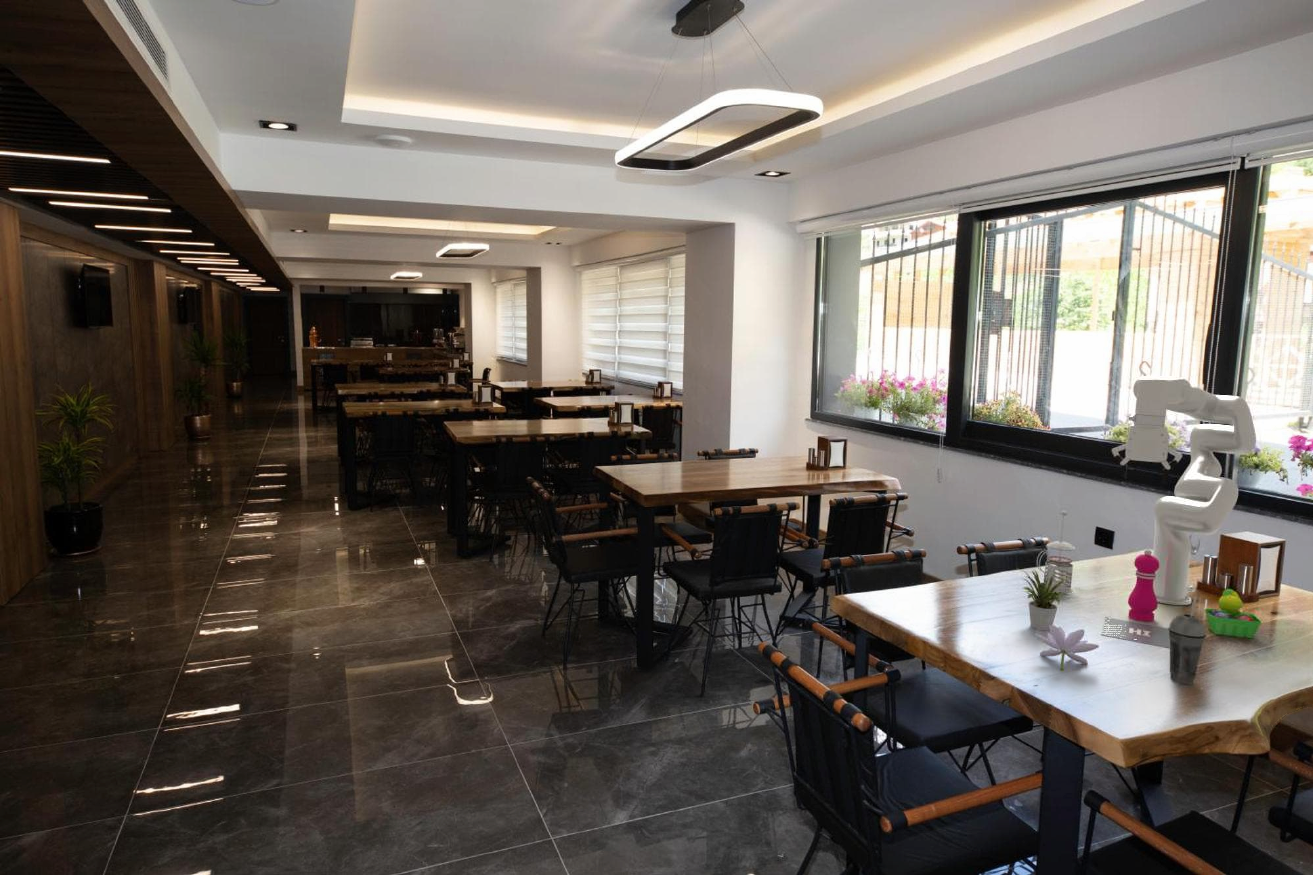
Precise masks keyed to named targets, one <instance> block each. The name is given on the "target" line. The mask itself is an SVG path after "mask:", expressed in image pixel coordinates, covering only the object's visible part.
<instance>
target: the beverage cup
mask: <svg viewBox="0 0 1313 875" xmlns="http://www.w3.org/2000/svg"><path fill="white" fill-rule="evenodd" d="M1197 598H1198V596H1195V595H1194V596H1193V601H1192V606H1191V610H1190V614H1187V613H1185V614H1179V615H1177V616H1174V618H1172V620H1171V621H1170V623H1169V626H1168V628H1169V629H1168V630H1169V638H1170V648H1169V678H1170V680H1171V681H1173V682H1175V683H1178V684H1183V685H1193V684H1194V681H1195V679H1196V678H1195V677H1196V674H1197V670H1198V665H1199V661H1200V656H1201V653H1202V648H1203V647H1202V646H1203V644H1204V643H1205V639H1206V637H1207V634H1206V628H1205V626H1204V623H1203V622H1202V621H1201V620H1200V619H1199V618H1198V617H1196V616H1195V615H1194V613H1195V608H1196V604H1197Z"/></svg>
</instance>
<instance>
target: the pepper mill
mask: <svg viewBox="0 0 1313 875" xmlns="http://www.w3.org/2000/svg"><path fill="white" fill-rule="evenodd" d="M1143 552H1144V554H1140V555H1137V556H1136V557H1135V559H1134V562H1133V563H1134V567H1135V568H1136V570H1135V574H1134V575H1135V576H1136V581H1135V586H1134V588H1133V589H1132V591H1131V593H1130V594H1129V596H1128V600H1127V604H1128V606H1129V608H1130V609H1128V615H1127V616H1128V617H1129V618H1130V619H1132V620H1135V621H1139V622H1144V623H1146V622H1147V623H1152V622H1154V620H1155V613H1154V612H1155V611H1156V610H1157V609H1158V607H1159V606H1158V605H1159V604H1158V603H1159V602H1157V598H1156V596H1155V593H1154V589H1153V582H1154V579H1155V578H1156V573H1155V572H1156V571H1157V570H1158V569H1159V561H1158V559H1157V558H1156V557H1154V556H1153V551H1152V550H1151V549H1145V550H1144V551H1143Z"/></svg>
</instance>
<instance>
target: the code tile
mask: <svg viewBox="0 0 1313 875" xmlns="http://www.w3.org/2000/svg"><path fill="white" fill-rule="evenodd" d="M1106 618H1107V619H1106ZM1109 618H1111V619H1109ZM1107 620H1110V621H1107ZM1104 622H1107V623H1103V627H1108V626H1104V624H1105V625H1106V624H1109V625H1117V626H1110V627H1116V628H1109V629H1117V630H1109V631H1117V632H1107V633H1113V634H1106V635H1111V636H1110V637H1109V638H1114V637H1115V638H1114V639H1121V640H1125V639H1126V641H1131V642H1135V641H1136V642H1135V643H1141V644H1145V643H1146V644H1147V645H1151V646H1155V647H1161V646H1162V648H1167V649H1170V638H1169V630H1168V629H1169V627H1161V626H1157V625H1151V624H1147V623H1140V622H1135V621H1130V620H1125V619H1119V618H1112V617H1108V616H1105V620H1104ZM1118 625H1122V626H1118ZM1125 625H1126V626H1125ZM1103 627H1102V630H1103V629H1108V628H1103ZM1117 627H1120V628H1117ZM1121 627H1122V628H1121ZM1118 629H1119V630H1118ZM1120 629H1122V630H1120ZM1103 631H1106V630H1103ZM1107 631H1108V630H1107ZM1118 631H1121V632H1118ZM1125 631H1126V632H1125ZM1102 633H1106V632H1102V631H1101V634H1100V635H1101V636H1104V635H1105V634H1102ZM1114 633H1115V634H1114ZM1116 633H1120V634H1116ZM1112 635H1113V636H1112ZM1114 635H1115V636H1114ZM1116 635H1117V636H1116ZM1121 635H1122V636H1121ZM1123 635H1124V636H1123ZM1120 637H1121V638H1120ZM1134 639H1137V640H1134ZM1139 641H1140V642H1139ZM1146 644H1145V645H1146Z"/></svg>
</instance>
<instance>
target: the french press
mask: <svg viewBox="0 0 1313 875" xmlns="http://www.w3.org/2000/svg"><path fill="white" fill-rule="evenodd" d="M1060 515H1061V516H1062V520H1064V517H1066V516H1068V513H1067V511H1065V510H1063V511H1060ZM1063 529H1064V522H1062V524H1061V531H1063ZM1046 547H1047V548H1048V549H1050V550H1056V551H1059V553H1061V551H1062V552H1072V551H1075V550H1076V547H1075V546H1073V544H1071V543H1069V542H1066V541H1063V533H1061V535H1060V540H1056V541H1052V542H1049V543H1047V544H1046ZM1048 549H1044V550H1042V551H1040V553H1039V554H1038V556H1037V557H1036V567H1037V569H1038V570H1039V571H1040V572H1041V573H1043V582H1044V581H1045V577H1046V574H1047V572H1048V571H1049V572H1048V574H1047V577H1046V581H1047V580H1048V579H1049V580H1048V581H1047V584H1046V586H1048V584H1049V581H1050V577H1051V576H1052V574H1053V575H1054V576H1053V581H1052V584H1051V587H1050V590H1051V589H1052V588H1053V587H1054V586H1055V585H1056V584H1057V583H1059V582H1060V581H1061V580H1063V579H1065V578H1069V577H1071V578H1069V579H1067V580H1065V581H1064V582H1063V583H1062V584H1061V585H1059V586H1058V587H1057V588H1056V589H1055V590H1054V592H1063V593H1071V594H1073V593H1072V592H1073V591H1074V592H1075V590H1074V589H1073V588H1072V580H1073V568H1074V564H1072V562H1073V560H1072V559H1071V558H1069V557H1064V556H1061V555H1058V556H1057V555H1051V554H1050V551H1049V550H1048ZM1042 553H1043V554H1042ZM1041 554H1042V555H1041ZM1045 554H1046V556H1047V557H1046V559H1047V560H1046V561H1045V564H1044V566H1045V567H1044V571H1043V569H1042V568H1041V559H1042V558H1043V556H1044V555H1045ZM1039 557H1040V558H1039ZM1051 564H1052V565H1051ZM1046 581H1045V583H1046ZM1050 590H1049V591H1050Z"/></svg>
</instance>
